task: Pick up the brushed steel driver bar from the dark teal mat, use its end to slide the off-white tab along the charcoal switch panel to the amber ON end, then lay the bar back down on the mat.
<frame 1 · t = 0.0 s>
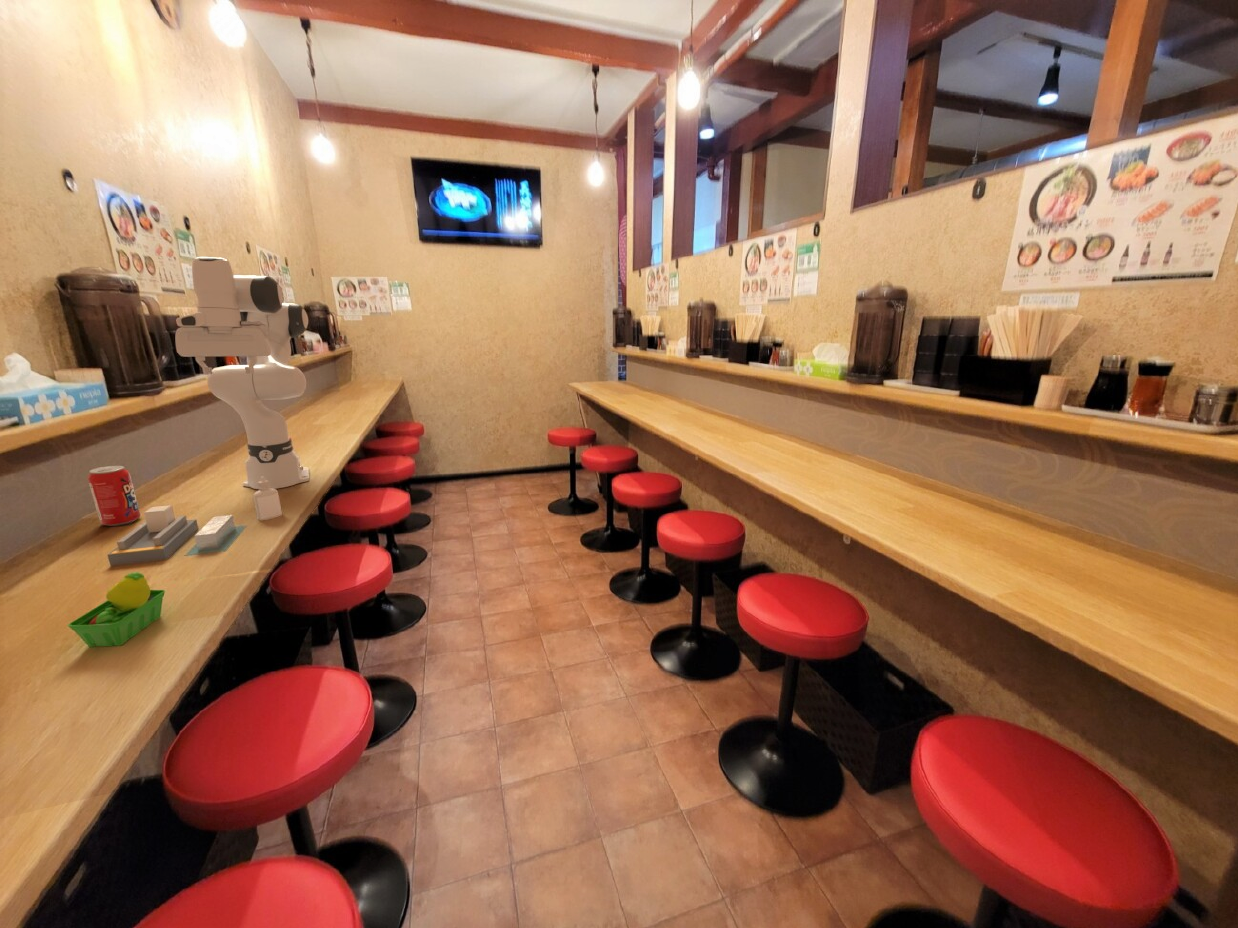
hand: (229, 373, 135), 39 cm above the counter, tool pointing down, fingers open, 8 cm apart
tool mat: (218, 540, 125), on the counter
eye dropper bottle: (270, 518, 140), on the counter
driver bar: (217, 539, 125), resting on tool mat
soda can: (122, 522, 135), on the counter
switch panel: (158, 546, 121), on the counter
fruit basket: (130, 631, 90), on the counter
switch tab: (160, 518, 123), point 6 cm above the counter, slide at 0.0 cm
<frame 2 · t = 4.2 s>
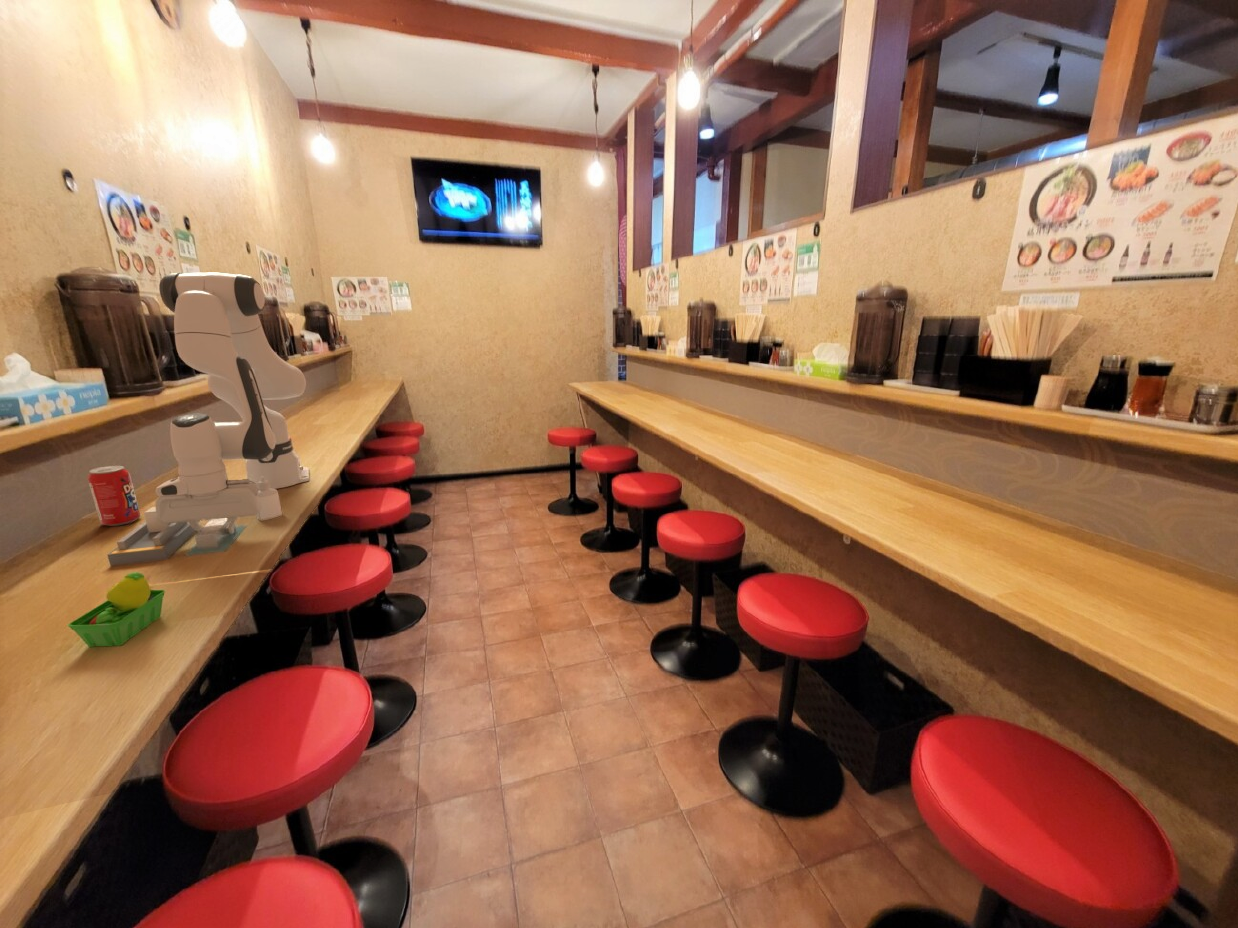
hand: (216, 534, 125), 2 cm above the counter, tool pointing down, fingers closed on driver bar, 4 cm apart
driver bar: (217, 539, 125), resting on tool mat, touching gripper
everything else where it was.
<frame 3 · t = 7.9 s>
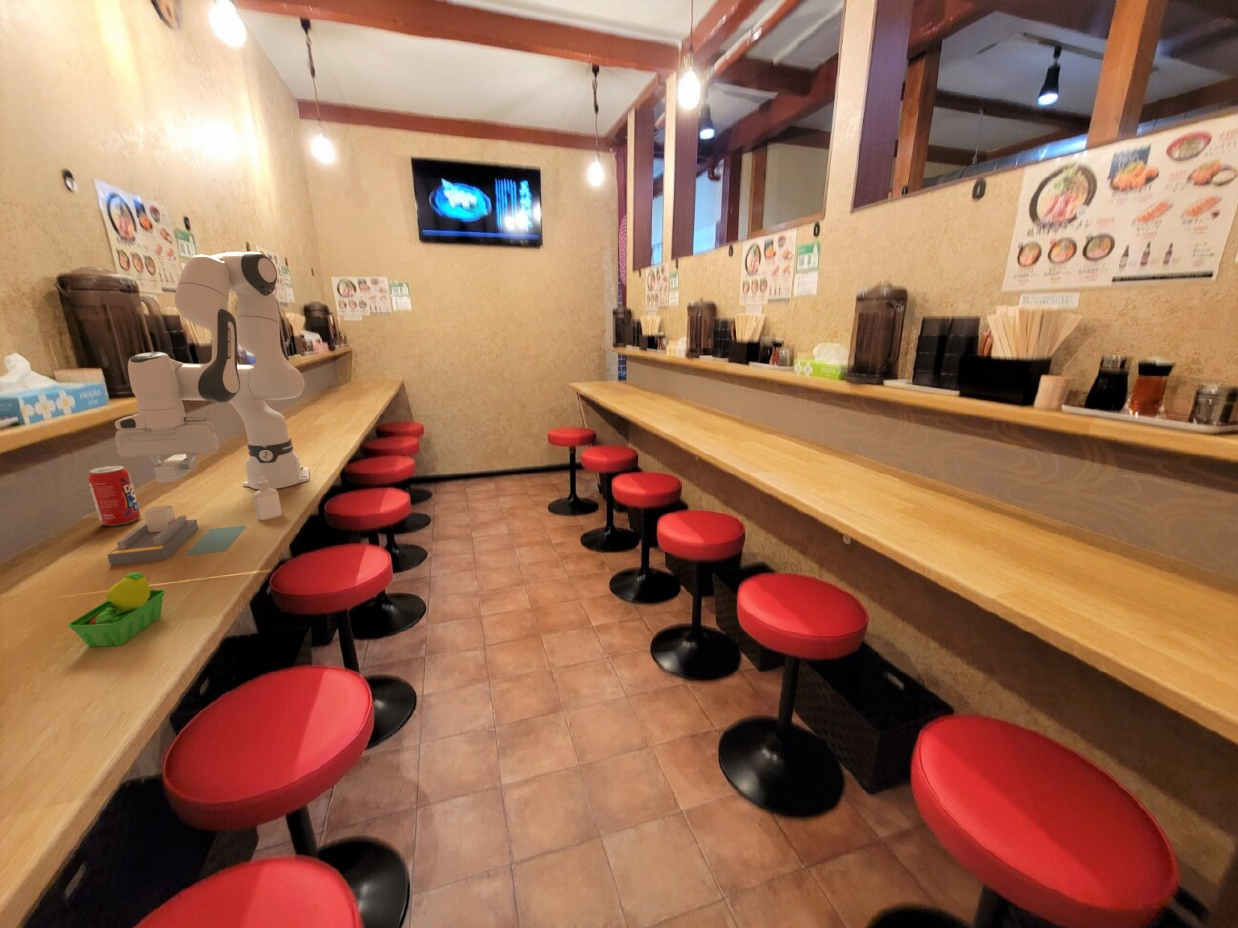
hand: (176, 470, 131), 15 cm above the counter, tool pointing down, fingers closed on driver bar, 4 cm apart
driver bar: (177, 474, 132), point 14 cm above the counter, touching gripper
everything else where it was.
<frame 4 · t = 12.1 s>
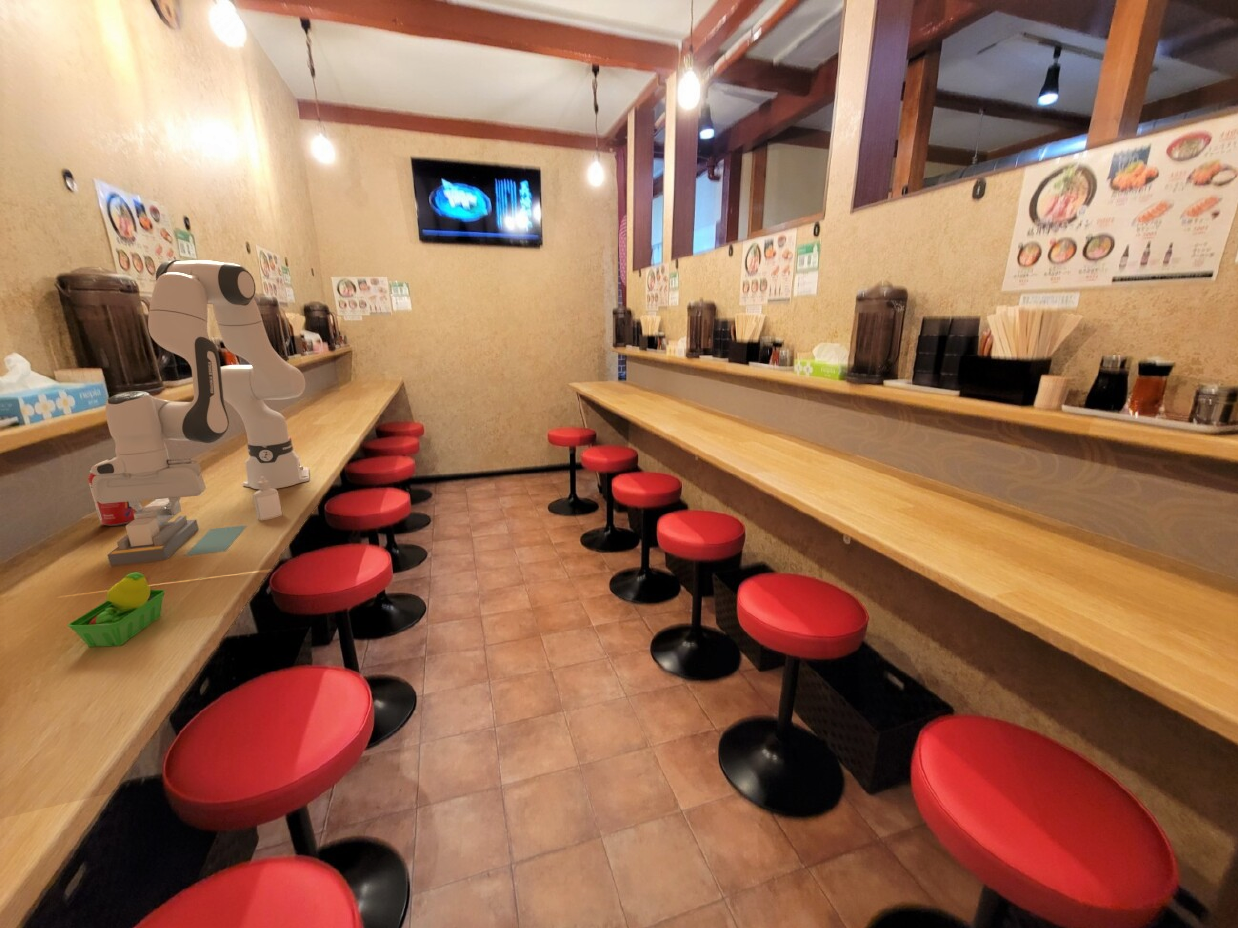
hand: (158, 515, 123), 7 cm above the counter, tool pointing down, fingers closed on driver bar, 4 cm apart
driver bar: (160, 520, 123), point 5 cm above the counter, touching gripper, switch tab
switch tab: (143, 531, 116), point 6 cm above the counter, slide at 8.1 cm, touching driver bar
everything else where it was.
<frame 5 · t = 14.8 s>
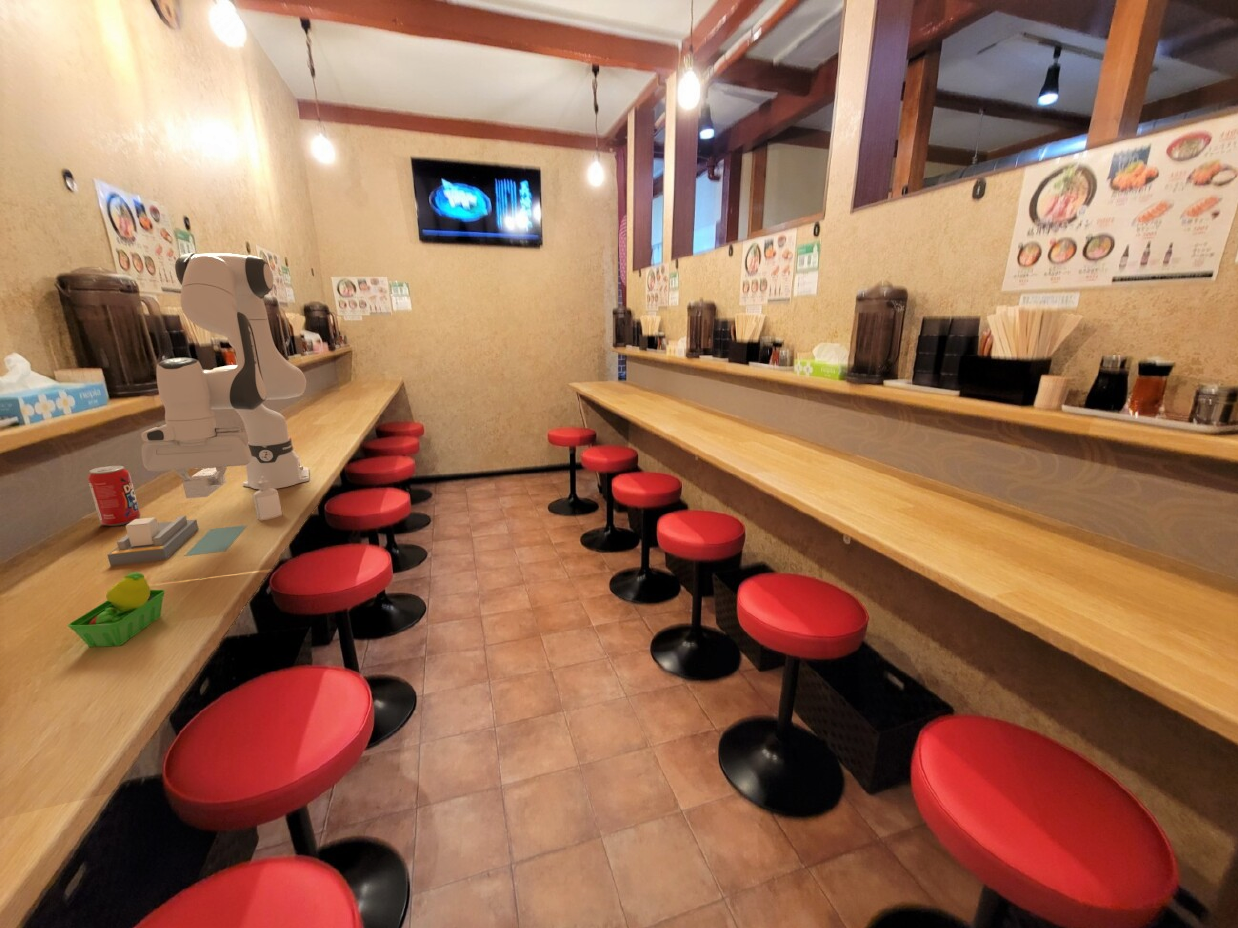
hand: (205, 485, 121), 15 cm above the counter, tool pointing down, fingers closed on driver bar, 4 cm apart
driver bar: (207, 490, 122), point 13 cm above the counter, touching gripper
switch tab: (143, 531, 116), point 6 cm above the counter, slide at 8.0 cm
everything else where it was.
when the fingers open (3 cm above the counter, at t = 17.2 s): driver bar stays where it is, resting on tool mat.
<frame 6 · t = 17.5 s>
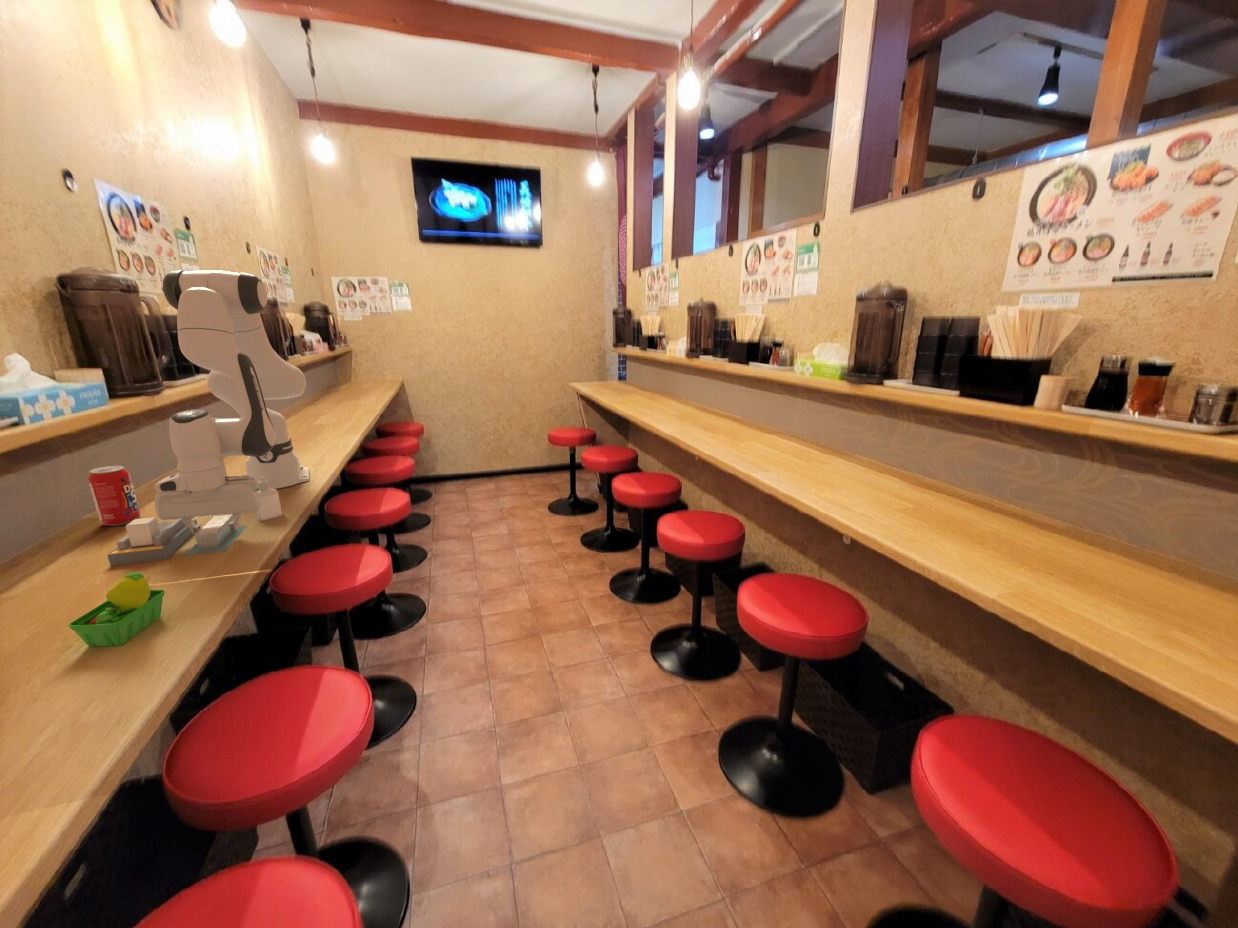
hand: (216, 531, 125), 3 cm above the counter, tool pointing down, fingers open, 6 cm apart
driver bar: (218, 538, 126), resting on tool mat
everything else where it was.
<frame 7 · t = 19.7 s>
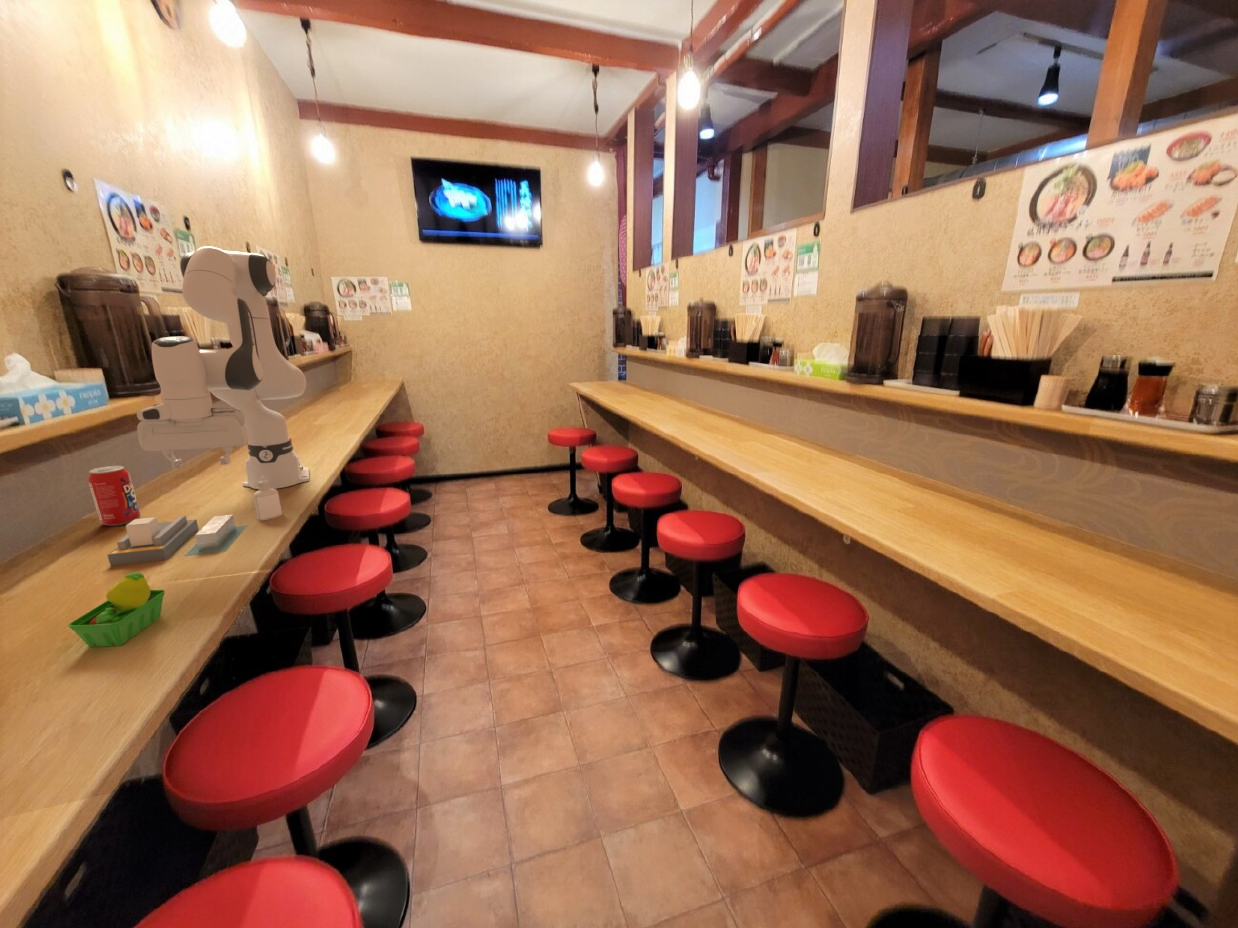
hand: (202, 465, 120), 19 cm above the counter, tool pointing down, fingers open, 8 cm apart
nothing on the counter moved.
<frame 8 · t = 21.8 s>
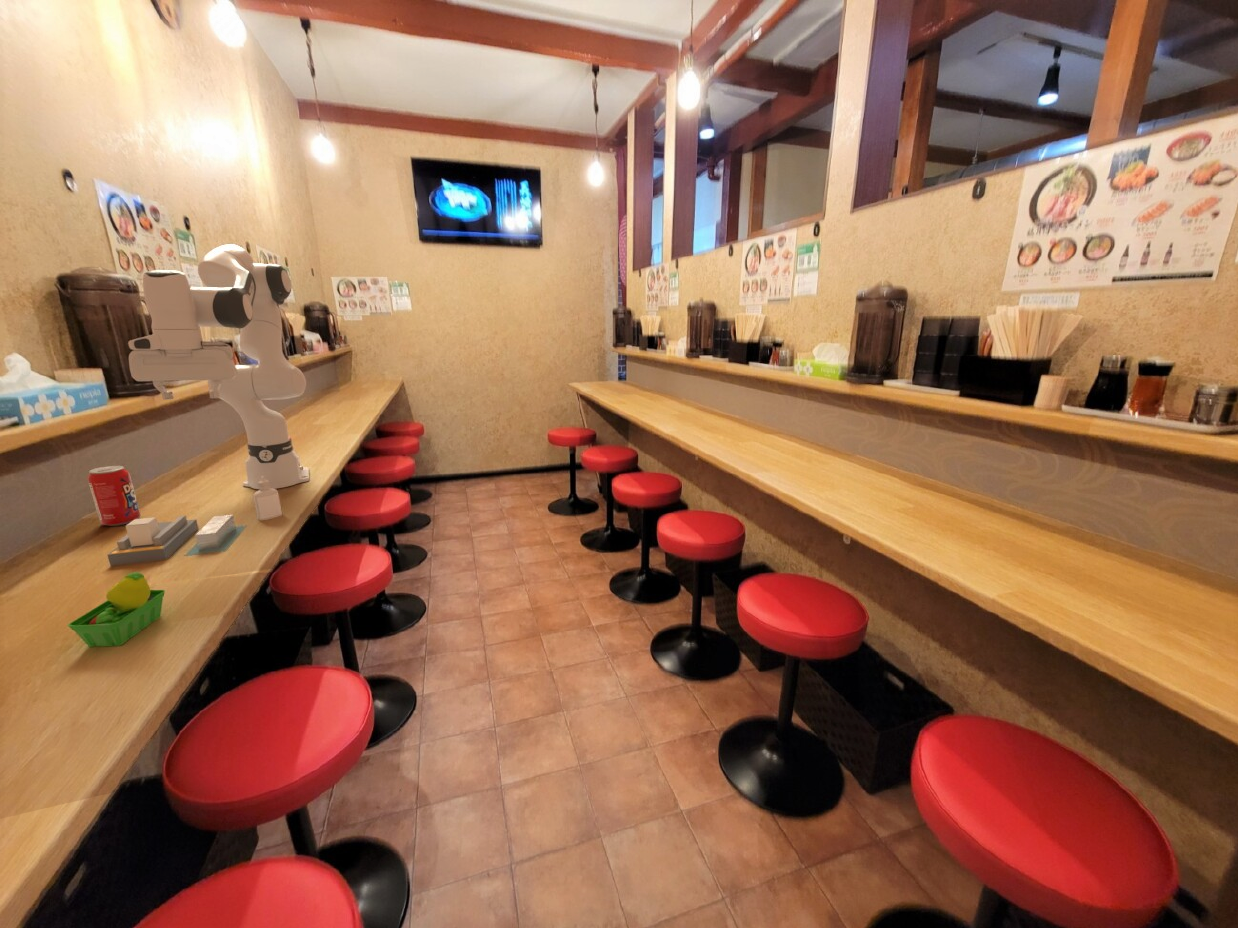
hand: (192, 398, 124), 34 cm above the counter, tool pointing down, fingers open, 8 cm apart
nothing on the counter moved.
at the end: switch tab slide at 8.0 cm; driver bar 0.3 cm off-centre on the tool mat, point 0.3 cm above the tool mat's base; the gripper is holding nothing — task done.
